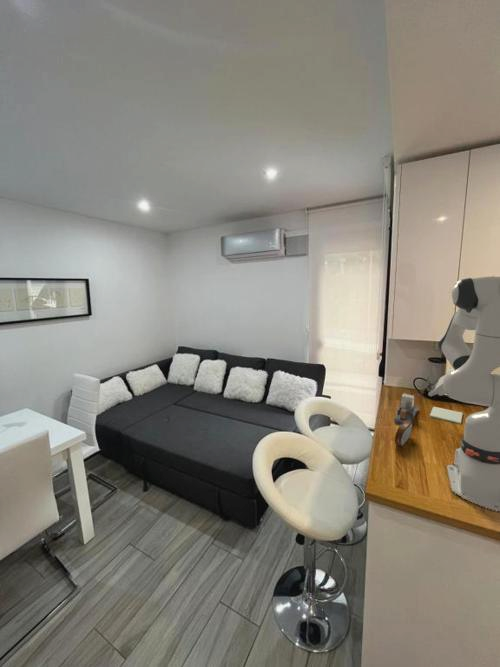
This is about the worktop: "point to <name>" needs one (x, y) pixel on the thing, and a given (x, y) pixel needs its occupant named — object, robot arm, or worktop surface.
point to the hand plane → (405, 415)
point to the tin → (403, 433)
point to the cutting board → (446, 415)
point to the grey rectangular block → (407, 403)
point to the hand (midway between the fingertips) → (430, 391)
